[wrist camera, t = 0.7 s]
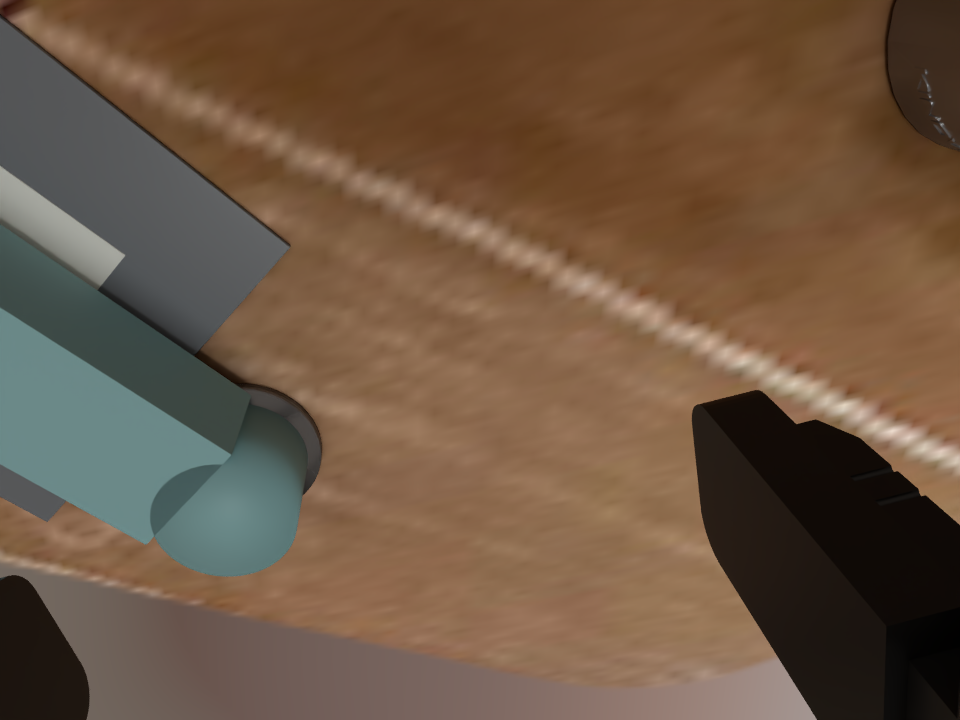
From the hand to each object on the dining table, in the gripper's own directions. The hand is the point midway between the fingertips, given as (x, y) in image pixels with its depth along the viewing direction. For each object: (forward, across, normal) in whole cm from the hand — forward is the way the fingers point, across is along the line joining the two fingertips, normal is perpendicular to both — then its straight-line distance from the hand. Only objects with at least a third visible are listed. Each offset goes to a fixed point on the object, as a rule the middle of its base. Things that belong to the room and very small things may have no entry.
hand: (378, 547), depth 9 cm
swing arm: (+19, +12, +3) cm, 23 cm away
